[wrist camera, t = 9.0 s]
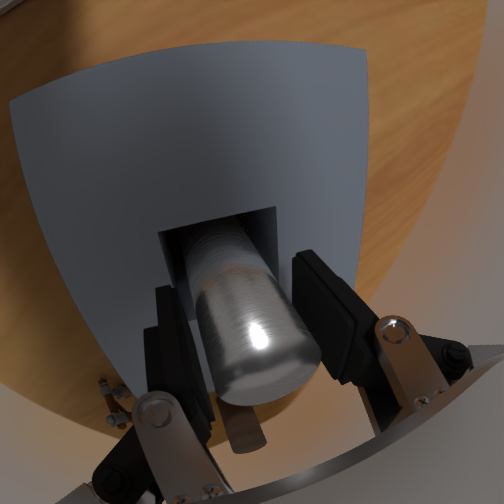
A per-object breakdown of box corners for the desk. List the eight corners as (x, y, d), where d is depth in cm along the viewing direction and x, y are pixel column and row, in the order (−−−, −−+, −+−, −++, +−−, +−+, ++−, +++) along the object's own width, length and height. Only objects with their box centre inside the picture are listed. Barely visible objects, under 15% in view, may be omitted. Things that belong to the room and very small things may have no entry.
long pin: (172, 200, 15) (203, 358, 6) (227, 188, 16) (326, 321, 7) (183, 249, 17) (224, 415, 8) (233, 237, 18) (316, 385, 9)
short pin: (213, 393, 25) (230, 446, 20) (245, 384, 26) (266, 436, 21) (219, 407, 27) (235, 456, 22) (248, 399, 27) (267, 446, 23)
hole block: (51, 98, 10) (8, 101, 6) (309, 57, 13) (366, 49, 9) (138, 351, 20) (143, 406, 16) (310, 305, 23) (342, 348, 19)
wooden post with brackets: (97, 374, 19) (117, 426, 16) (159, 379, 25) (178, 419, 23) (86, 382, 19) (104, 433, 16) (147, 386, 26) (165, 425, 23)
